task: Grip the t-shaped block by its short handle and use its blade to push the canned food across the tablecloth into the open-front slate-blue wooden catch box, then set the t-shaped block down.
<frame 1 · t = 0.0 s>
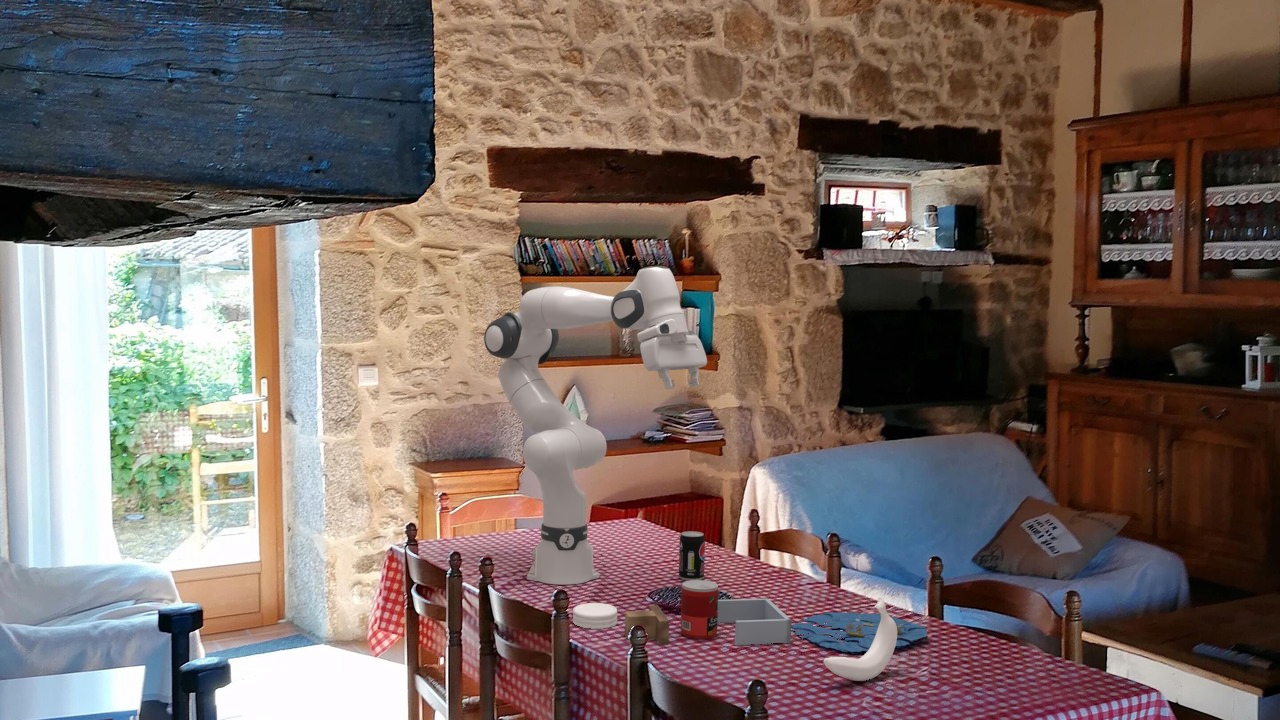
hand: (682, 387, 252), 52 cm above the table, tool tilted 20°, fingers open, 8 cm apart
banana: (862, 679, 208), on the table
catch box: (752, 632, 236), on the table
canned food: (698, 635, 234), on the table
beverage can: (691, 580, 280), on the table
white round container: (594, 624, 240), on the table
t-shaped block: (640, 636, 231), on the table
decorative plate: (858, 637, 236), on the table
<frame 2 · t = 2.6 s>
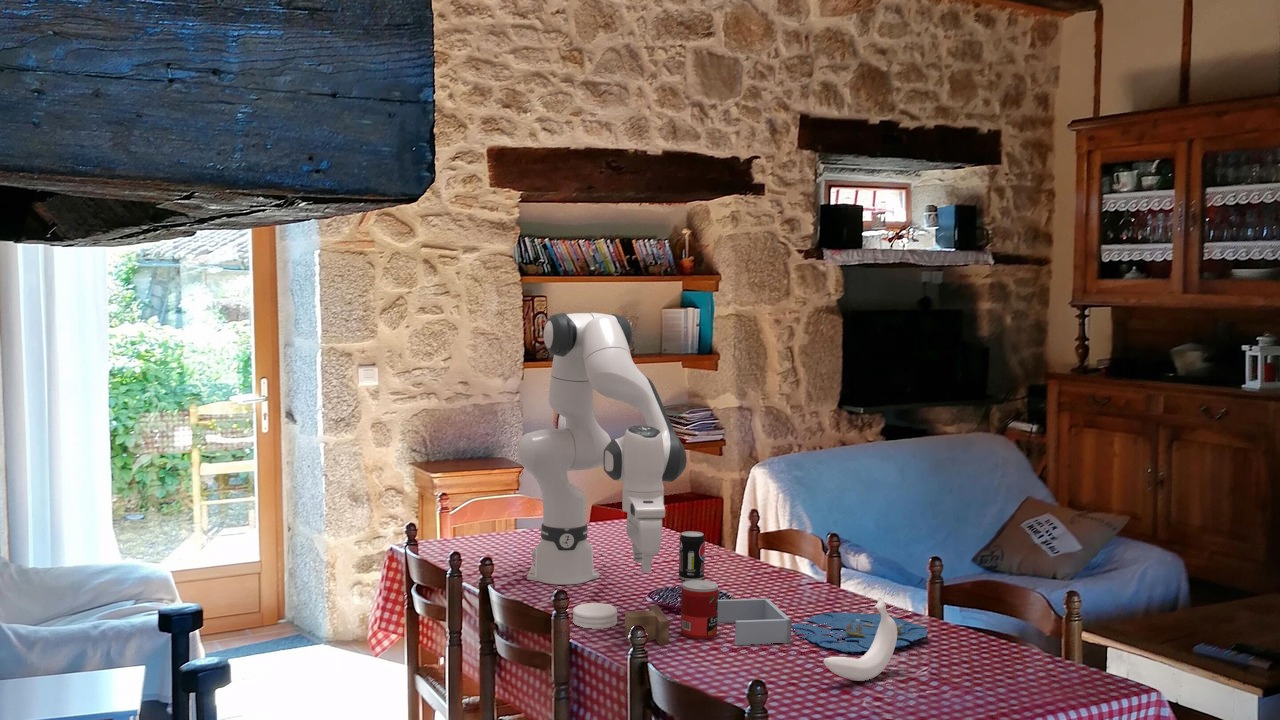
hand: (641, 566, 230), 15 cm above the table, tool pointing down, fingers open, 8 cm apart
nothing on the table moved.
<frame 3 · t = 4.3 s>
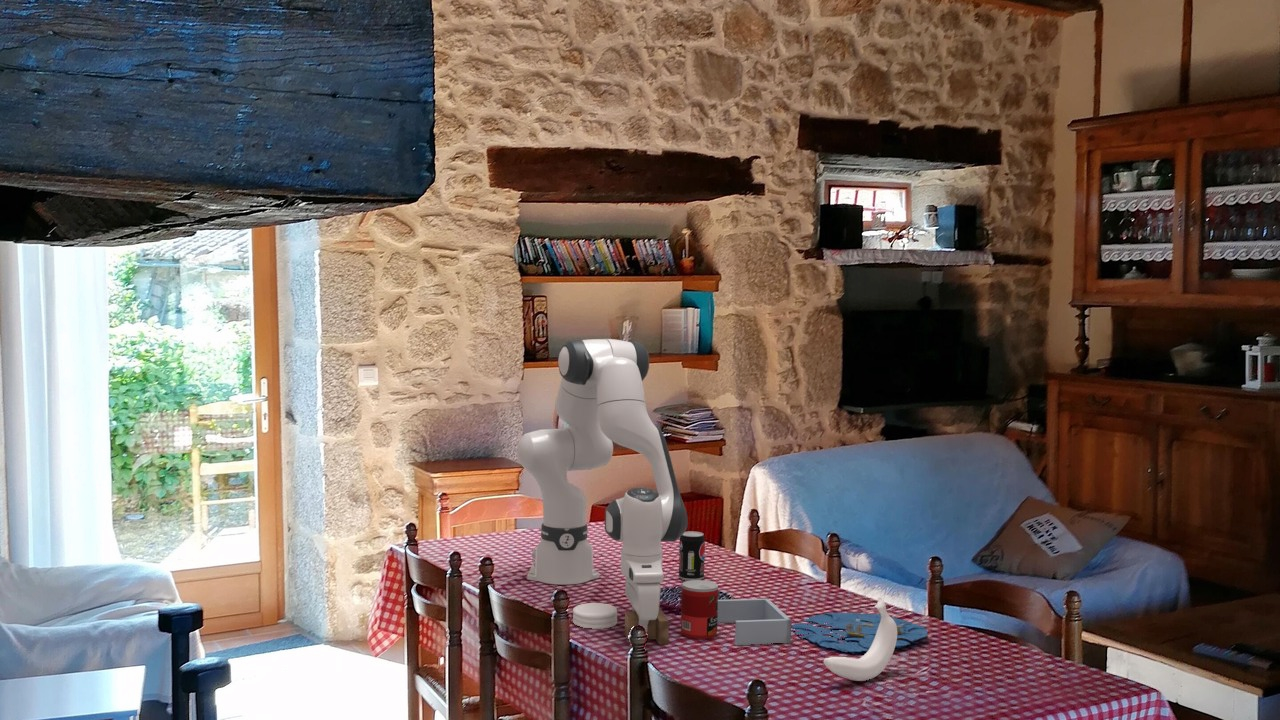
hand: (640, 628, 231), 2 cm above the table, tool pointing down, fingers closed on t-shaped block, 4 cm apart
t-shaped block: (640, 636, 231), on the table, touching gripper
everything else where it was.
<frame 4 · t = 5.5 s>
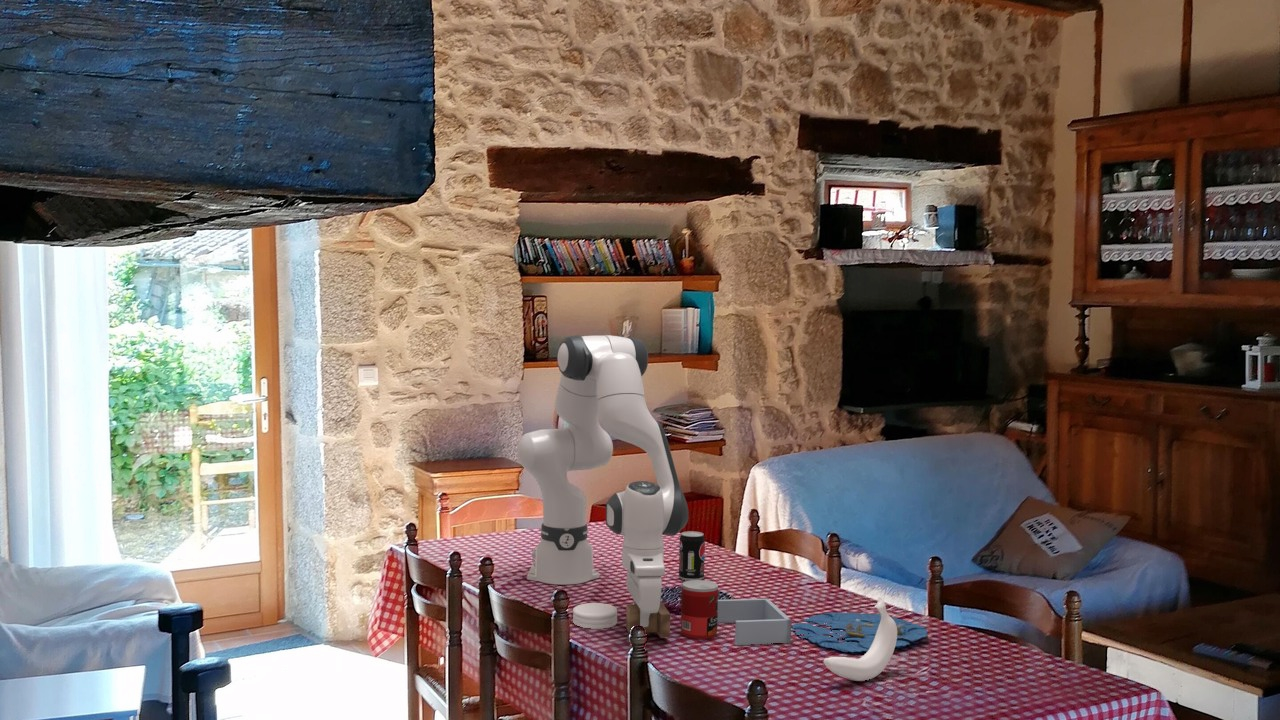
hand: (641, 622, 231), 3 cm above the table, tool pointing down, fingers closed on t-shaped block, 4 cm apart
t-shaped block: (641, 629, 231), point 1 cm above the table, touching gripper
everything else where it was.
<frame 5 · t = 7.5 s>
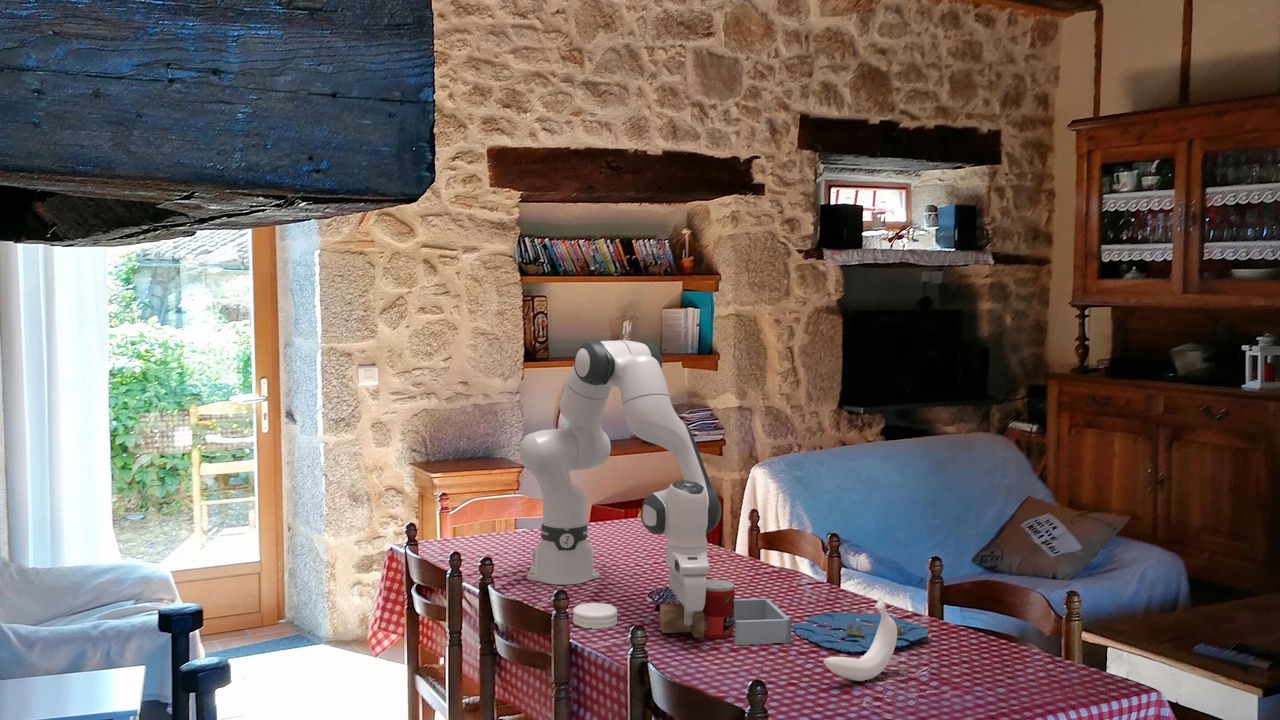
hand: (685, 620, 233), 3 cm above the table, tool pointing down, fingers closed on t-shaped block, 4 cm apart
canned food: (715, 634, 234), on the table, touching t-shaped block
t-shaped block: (675, 629, 232), point 1 cm above the table, touching canned food, gripper
everything else where it was.
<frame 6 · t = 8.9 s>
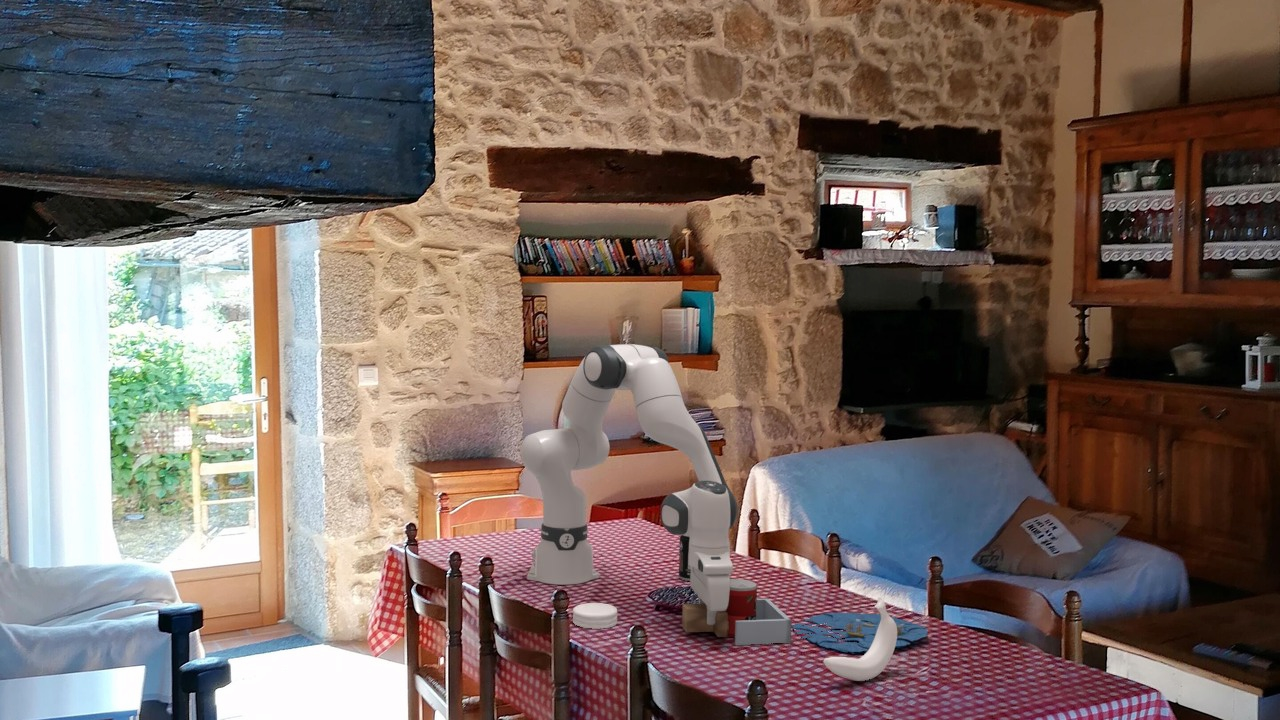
hand: (707, 620, 234), 3 cm above the table, tool pointing down, fingers closed on t-shaped block, 4 cm apart
canned food: (737, 634, 235), on the table, touching t-shaped block
t-shaped block: (697, 629, 233), point 1 cm above the table, touching canned food, gripper
everything else where it was.
when the fingers open (2 cm above the table, at t = 11.1 s): t-shaped block stays where it is, on the table.
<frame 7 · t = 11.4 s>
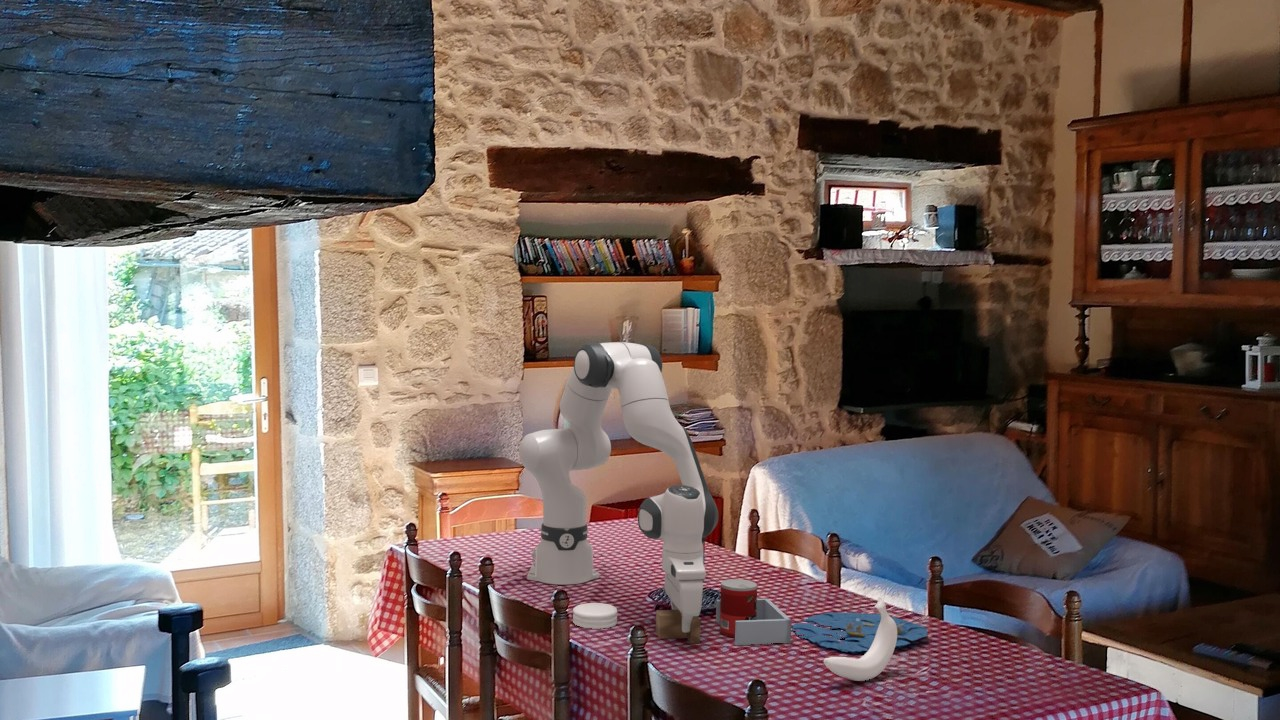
hand: (681, 625, 233), 2 cm above the table, tool pointing down, fingers open, 7 cm apart
canned food: (737, 634, 235), on the table
t-shaped block: (671, 635, 232), on the table
everything else where it was.
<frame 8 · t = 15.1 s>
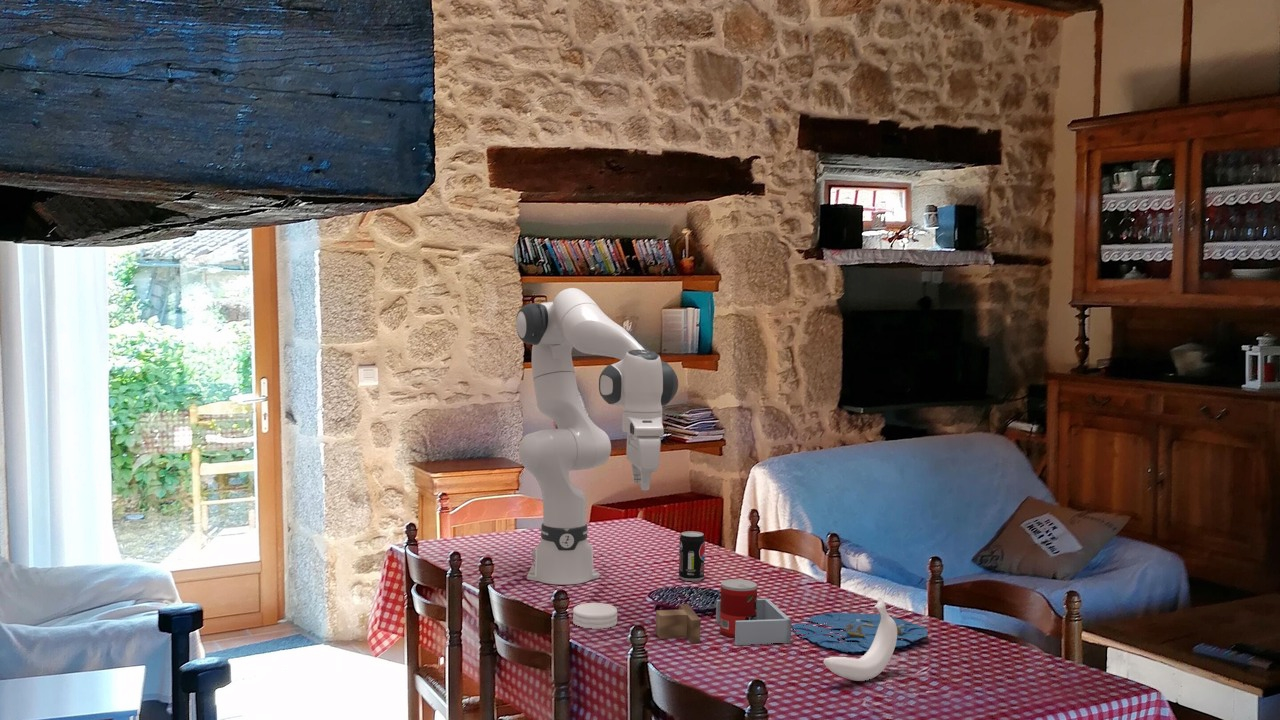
hand: (641, 486, 238), 31 cm above the table, tool pointing down, fingers open, 8 cm apart
nothing on the table moved.
at the end: canned food inside the target area (3.1 cm from its centre), on the table; canned food moved 8.7 cm from its start; the gripper is holding nothing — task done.
